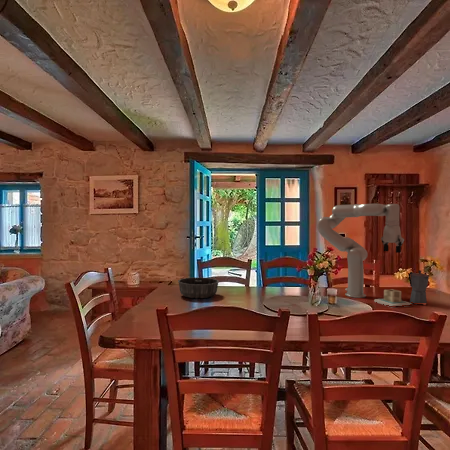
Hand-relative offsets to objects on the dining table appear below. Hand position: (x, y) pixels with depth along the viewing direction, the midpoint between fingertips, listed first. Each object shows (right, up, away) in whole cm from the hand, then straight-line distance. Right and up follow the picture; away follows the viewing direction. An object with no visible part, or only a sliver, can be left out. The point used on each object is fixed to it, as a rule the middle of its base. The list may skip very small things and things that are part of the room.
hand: (392, 251), depth 205 cm
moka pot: (+13, -31, -5) cm, 34 cm away
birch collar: (-3, -29, -7) cm, 29 cm away
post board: (-3, -30, -7) cm, 31 cm away
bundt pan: (-120, -30, +10) cm, 124 cm away
